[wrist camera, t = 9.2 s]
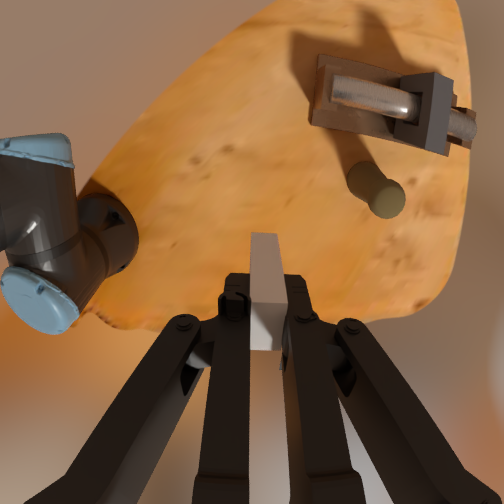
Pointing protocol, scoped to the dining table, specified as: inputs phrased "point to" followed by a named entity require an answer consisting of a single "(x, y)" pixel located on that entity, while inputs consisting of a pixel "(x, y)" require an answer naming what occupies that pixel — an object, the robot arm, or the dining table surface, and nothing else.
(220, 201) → the dining table surface
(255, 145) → the dining table surface
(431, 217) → the dining table surface
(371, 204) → the cork
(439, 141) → the collar
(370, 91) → the pipe rig
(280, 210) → the dining table surface
